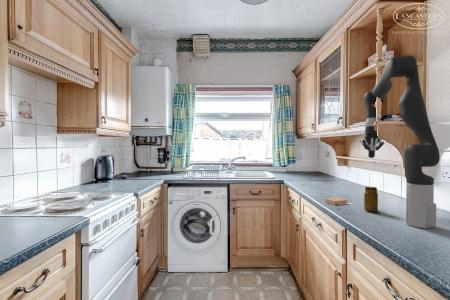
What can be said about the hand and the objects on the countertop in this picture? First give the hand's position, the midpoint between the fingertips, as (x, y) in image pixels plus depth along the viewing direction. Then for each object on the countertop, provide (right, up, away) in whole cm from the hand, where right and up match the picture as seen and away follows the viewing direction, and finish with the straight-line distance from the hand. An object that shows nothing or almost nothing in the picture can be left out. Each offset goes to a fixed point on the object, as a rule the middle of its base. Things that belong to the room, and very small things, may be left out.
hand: (371, 157), depth 151 cm
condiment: (-7, -26, -15) cm, 31 cm away
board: (-16, -26, +3) cm, 30 cm away
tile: (-14, -24, +4) cm, 28 cm away
